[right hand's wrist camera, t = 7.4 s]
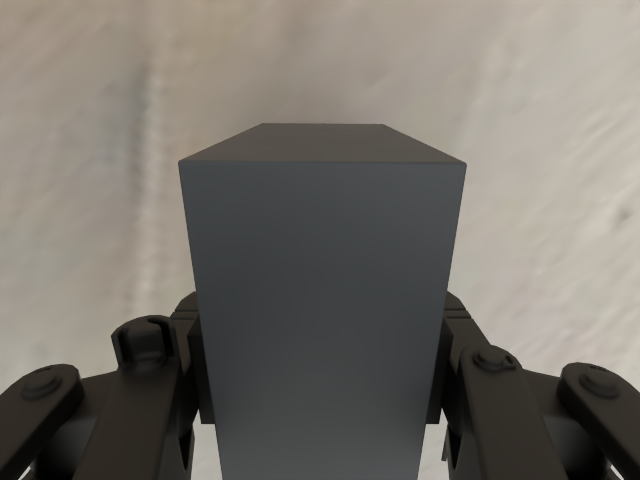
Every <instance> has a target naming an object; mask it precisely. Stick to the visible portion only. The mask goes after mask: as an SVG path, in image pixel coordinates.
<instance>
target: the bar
mask: <svg viewBox="0 0 640 480" xmlns="http://www.w3.org/2000/svg"><path fill="white" fill-rule="evenodd" d="M178 166H179V174H180V181H181V188H182V195H183V202H184V209H185V216H186V223H187V230H188V237H189V244H190V252H191V259H192V266H193V273H194V280H195V287H196V294H197V301H198V308H199V315H200V322H201V330H202V337H203V344H204V351H205V358H206V365H207V372H208V379H209V386H210V393H211V400H212V408H213V415H214V422H215V429H216V436H217V443H218V450H219V457H220V464H221V471H222V478H223V480H417V477H418V471H419V465H420V458H421V452H422V446H423V439H424V433H425V427H426V420H427V414H428V408H429V401H430V395H431V389H432V382H433V376H434V370H435V363H436V357H437V351H438V344H439V338H440V332H441V325H442V319H443V313H444V306H445V300H446V294H447V287H448V281H449V275H450V268H451V262H452V256H453V249H454V243H455V237H456V230H457V224H458V217H459V211H460V205H461V198H462V192H463V186H464V179H465V173H466V167H467V165H466V163H465V162H463V161H461V160H458V159H456V158H454V157H452V156H450V155H448V154H446V153H443V152H441V151H439V150H437V149H435V148H433V147H431V146H428V145H426V144H424V143H422V142H420V141H418V140H416V139H413V138H411V137H409V136H407V135H405V134H403V133H401V132H398V131H396V130H394V129H392V128H390V127H388V126H386V125H383V124H269V123H262V124H260V125H258V126H256V127H253V128H251V129H249V130H247V131H244V132H242V133H240V134H238V135H236V136H233V137H231V138H229V139H227V140H224V141H222V142H220V143H218V144H216V145H213V146H211V147H209V148H207V149H204V150H202V151H200V152H198V153H196V154H193V155H191V156H189V157H187V158H184V159H182V160H180V161H179V162H178Z"/></svg>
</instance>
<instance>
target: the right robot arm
mask: <svg viewBox="0 0 640 480" xmlns="http://www.w3.org/2000/svg"><path fill="white" fill-rule="evenodd" d="M111 339H112V343H113V346H114V350H115V354H116V358H117V362H118V369H117V371H113V372H110V373H106V374H101V375H97V376H92V377H88V378H83V379H81V377H80V374H79V371H78V369H77V368H75V367H74V366H73V365H68V364H57V365H50V366H46V367H44V368H40V369H37V370H35V371H33V372H31V373H29V374H27V375H25V376H23V377H22V378H20V379H19V380H18V381H16V382H15V383H13V384H12V385H11V386H10V387H9V388H8V389H7V390H5V391H4V392H3V393H2V394H1V395H0V480H18V479H19V478H20V476H21V475H22V474H23V473H24V471H25V470H26V469H27V468H28V466H30V470H29V472H28V473H27V474H26V475H25V477H24V478H23V479H21V480H191V471H192V461H193V451H194V441H195V437H194V430H193V425H192V424H193V422H194V419H195V417H196V414H197V411H198V409H199V413H200V419H201V424H215V422H214V415H213V408H212V400H211V393H210V386H209V379H208V372H207V365H206V358H205V351H204V344H203V337H202V330H201V322H200V315H199V308H198V301H197V294H196V292H192V293H191V294H189V295H188V296H187V297H185V298H184V299H182V300H181V301H180V303H179V304H178V306H177V307H176V309H175V312H173V313H172V315H171V316H170V318H169V317H166V316H162V315H148V316H144V317H139V318H136V319H133V320H131V321H128V322H126V323H124V324H123V325H121V326H120V327H118V328H117V329H116V330H115V331H114V332H113V334H112V335H111ZM441 409H443V411H444V414H445V416H446V419H447V422H448V425H447V430H446V436H445V441H444V447H443V453H442V459H441V461H446V459H447V460H448V470H449V480H621V479H620V478H619V477H618V476H617V475H616V474H615V473H614V472H613V470H612V469H611V468H610V467H611V465H613V466H614V467H615V468H616V470H617V471H618V472H619V473H620V475H621V476H622V477H623V478H624V480H640V392H638V391H637V390H636V389H635V388H634V387H633V386H632V385H631V384H630V383H628V382H627V381H626V380H624V379H623V378H622V377H620V376H619V375H617V374H615V373H613V372H611V371H609V370H607V369H605V368H603V367H600V366H597V365H593V364H588V363H579V362H576V363H570V364H567V365H566V366H565V367H564V368H563V369H562V372H561V375H560V377H555V376H551V375H546V374H541V373H537V372H532V371H529V370H525V369H523V368H522V366H521V364H520V363H519V361H518V360H517V359H516V358H515V357H514V356H513V355H512V354H510V353H509V352H508V351H506V350H504V349H501V348H499V347H497V346H494V345H491V344H490V343H489V342H488V340H487V339H486V337H485V336H484V334H483V333H482V331H481V330H480V329H479V327H478V326H477V324H476V323H475V321H474V320H473V319H471V315H470V314H469V313H468V311H466V308H465V307H464V305H463V304H462V302H461V301H460V299H459V298H457V297H456V296H454V295H453V294H451V293H450V292H448V291H447V294H446V300H445V306H444V313H443V319H442V325H441V332H440V338H439V344H438V351H437V357H436V363H435V370H434V376H433V382H432V389H431V395H430V401H429V408H428V414H427V420H426V424H439V421H440V415H441Z"/></svg>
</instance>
